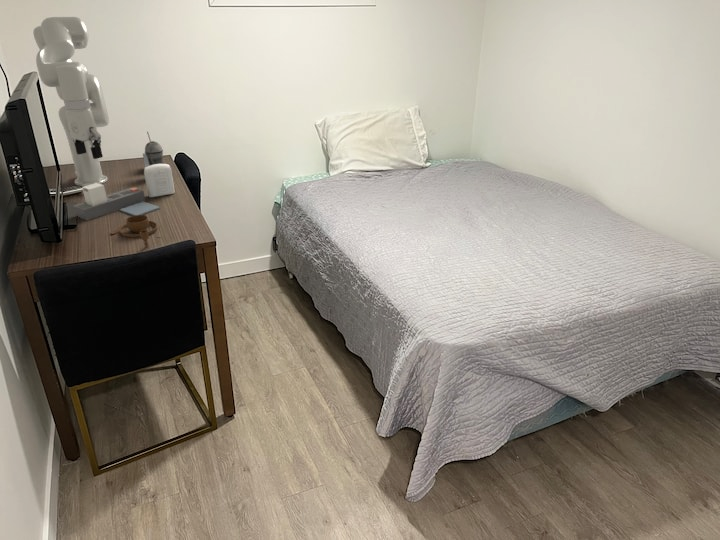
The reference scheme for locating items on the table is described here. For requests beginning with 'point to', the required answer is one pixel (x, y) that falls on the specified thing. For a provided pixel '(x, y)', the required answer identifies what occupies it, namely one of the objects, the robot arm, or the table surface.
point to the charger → (94, 194)
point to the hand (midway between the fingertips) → (89, 155)
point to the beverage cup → (154, 152)
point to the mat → (139, 208)
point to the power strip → (110, 203)
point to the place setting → (138, 227)
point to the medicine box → (145, 160)
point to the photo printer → (159, 180)
